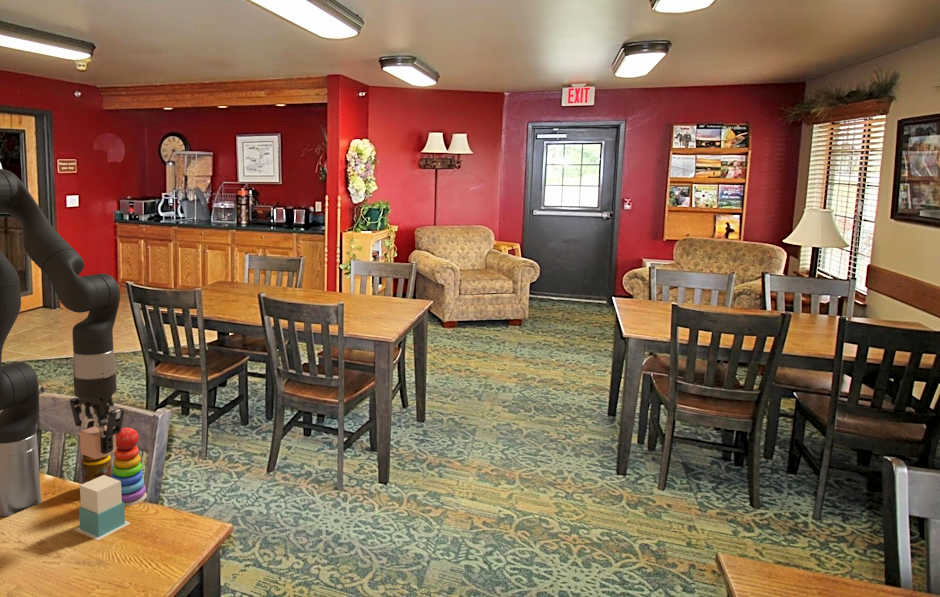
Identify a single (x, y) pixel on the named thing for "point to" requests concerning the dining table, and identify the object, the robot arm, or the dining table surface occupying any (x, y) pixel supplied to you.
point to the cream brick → (100, 494)
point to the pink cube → (93, 442)
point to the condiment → (95, 467)
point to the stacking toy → (129, 467)
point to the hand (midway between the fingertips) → (98, 449)
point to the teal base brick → (102, 520)
